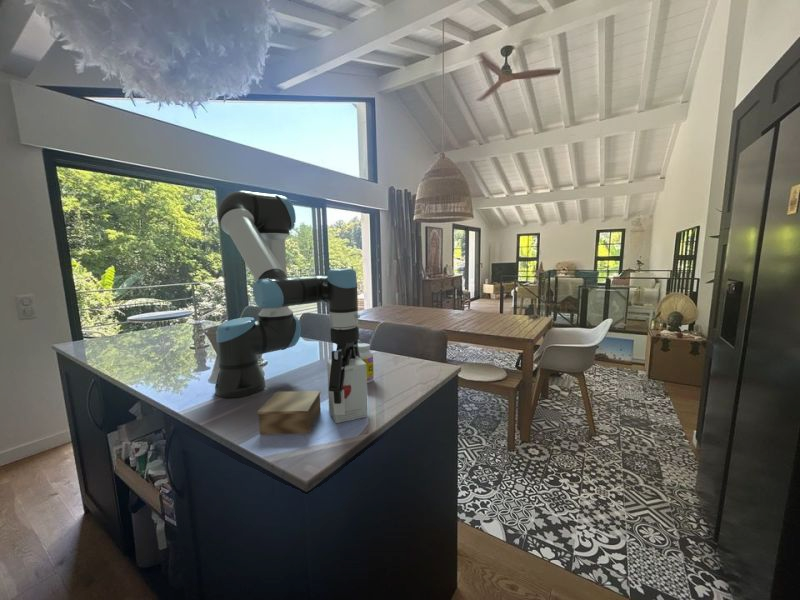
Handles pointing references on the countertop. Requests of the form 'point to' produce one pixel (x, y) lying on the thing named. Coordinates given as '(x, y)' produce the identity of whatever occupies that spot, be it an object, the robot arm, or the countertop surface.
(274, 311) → the robot arm
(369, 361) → the supplement bottle
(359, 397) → the supplement box
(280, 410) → the walnut box
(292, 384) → the countertop surface
